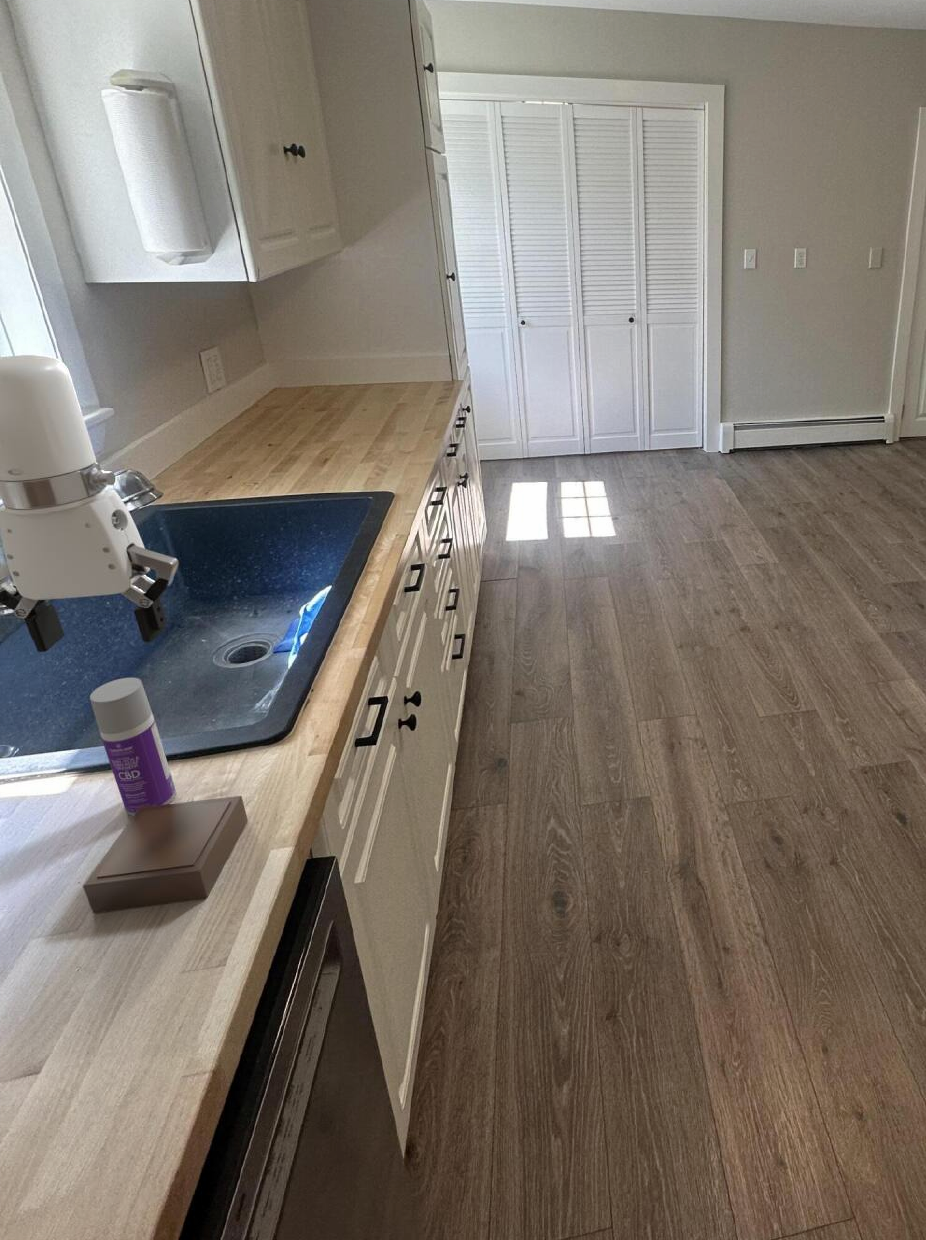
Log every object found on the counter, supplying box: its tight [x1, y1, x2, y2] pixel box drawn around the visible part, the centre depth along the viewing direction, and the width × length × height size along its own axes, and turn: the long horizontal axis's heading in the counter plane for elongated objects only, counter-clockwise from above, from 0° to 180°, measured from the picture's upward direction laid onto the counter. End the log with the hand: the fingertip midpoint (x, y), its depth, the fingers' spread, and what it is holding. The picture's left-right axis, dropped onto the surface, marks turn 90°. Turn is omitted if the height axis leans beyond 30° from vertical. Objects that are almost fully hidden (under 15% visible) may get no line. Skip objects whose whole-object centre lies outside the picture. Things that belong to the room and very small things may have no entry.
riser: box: [82, 795, 249, 914], centre depth 75 cm, size 10×10×4 cm
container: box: [89, 677, 177, 817], centre depth 81 cm, size 5×5×15 cm
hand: (104, 639), depth 77 cm, fingers open, 9 cm apart
